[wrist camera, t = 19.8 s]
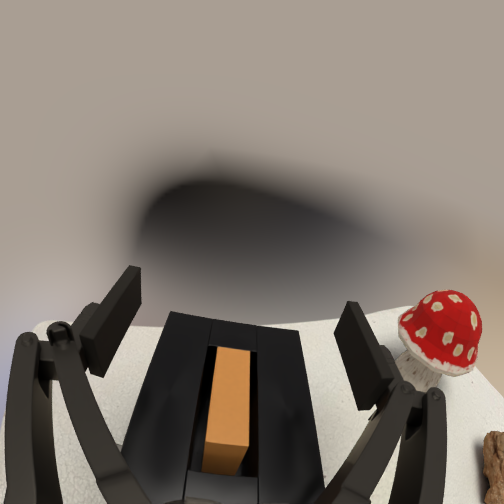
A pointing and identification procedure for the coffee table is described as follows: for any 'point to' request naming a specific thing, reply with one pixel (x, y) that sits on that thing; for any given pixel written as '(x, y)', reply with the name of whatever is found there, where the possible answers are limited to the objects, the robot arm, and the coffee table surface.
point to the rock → (494, 466)
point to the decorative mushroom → (438, 338)
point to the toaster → (196, 414)
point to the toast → (228, 413)
